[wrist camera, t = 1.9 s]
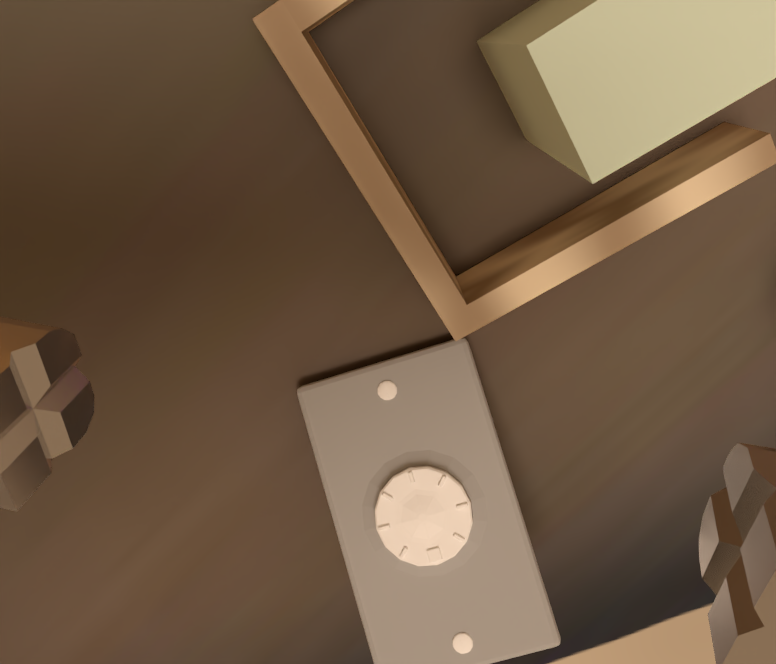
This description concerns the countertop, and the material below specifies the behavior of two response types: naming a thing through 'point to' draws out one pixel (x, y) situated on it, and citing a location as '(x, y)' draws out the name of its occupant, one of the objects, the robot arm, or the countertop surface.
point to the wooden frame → (535, 251)
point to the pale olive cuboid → (626, 72)
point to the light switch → (427, 511)
